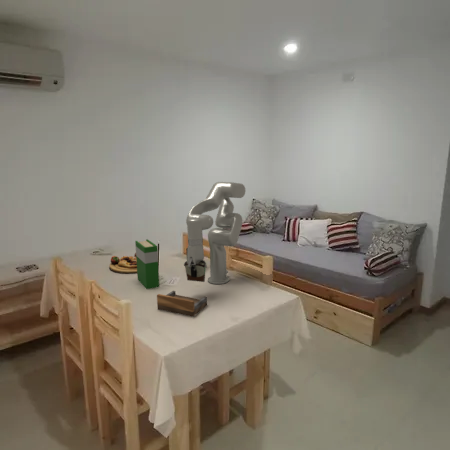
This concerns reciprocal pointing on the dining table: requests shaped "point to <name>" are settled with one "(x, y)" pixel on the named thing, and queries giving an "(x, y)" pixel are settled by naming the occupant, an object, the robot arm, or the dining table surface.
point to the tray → (180, 304)
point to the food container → (200, 271)
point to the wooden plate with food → (124, 264)
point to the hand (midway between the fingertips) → (196, 274)
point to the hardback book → (147, 264)
